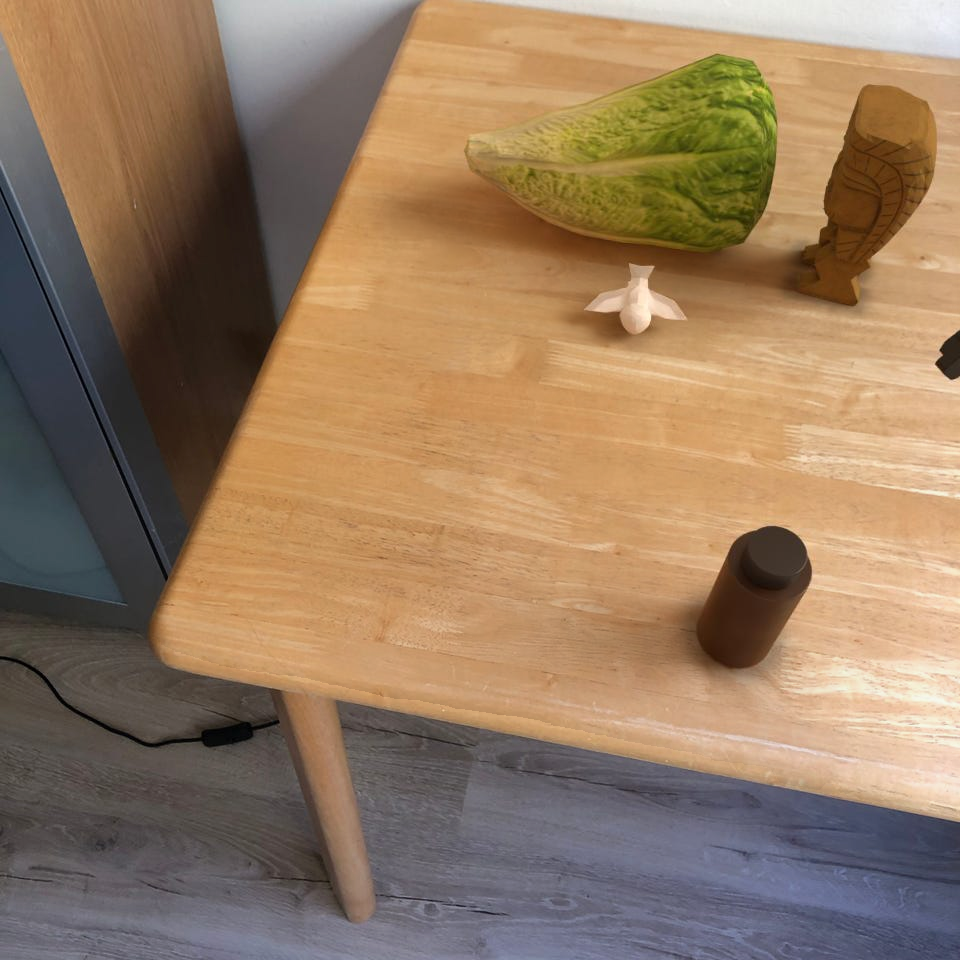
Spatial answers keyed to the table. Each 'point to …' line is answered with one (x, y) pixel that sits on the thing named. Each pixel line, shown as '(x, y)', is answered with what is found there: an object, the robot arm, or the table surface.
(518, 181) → the lettuce
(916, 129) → the figurine
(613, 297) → the toy bird
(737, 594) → the pepper mill
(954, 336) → the robot arm
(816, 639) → the table surface
